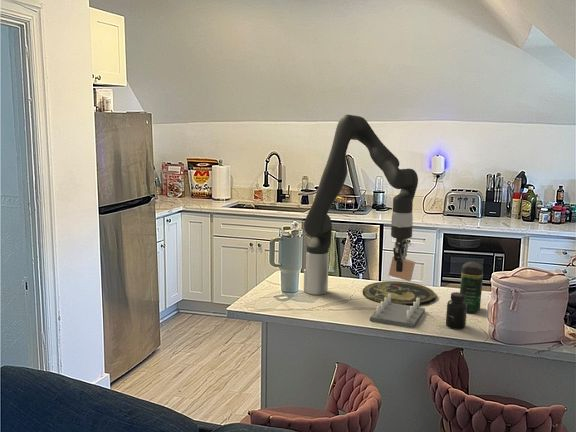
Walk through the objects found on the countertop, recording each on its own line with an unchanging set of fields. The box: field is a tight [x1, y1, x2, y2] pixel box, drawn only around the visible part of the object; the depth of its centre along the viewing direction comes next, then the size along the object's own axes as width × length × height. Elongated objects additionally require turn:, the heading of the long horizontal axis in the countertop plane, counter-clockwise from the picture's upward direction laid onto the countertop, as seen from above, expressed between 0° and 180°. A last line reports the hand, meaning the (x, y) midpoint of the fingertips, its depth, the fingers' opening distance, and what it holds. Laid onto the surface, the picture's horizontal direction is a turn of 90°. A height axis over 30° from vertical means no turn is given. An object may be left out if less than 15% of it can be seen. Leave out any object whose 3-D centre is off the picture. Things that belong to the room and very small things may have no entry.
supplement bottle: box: [445, 291, 467, 330], centre depth 212 cm, size 7×7×12 cm
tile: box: [388, 255, 416, 282], centre depth 219 cm, size 8×2×7 cm, turn 66°
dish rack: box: [369, 294, 426, 329], centre depth 222 cm, size 16×19×6 cm
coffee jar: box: [459, 261, 484, 314], centre depth 229 cm, size 10×8×19 cm
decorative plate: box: [362, 280, 437, 307], centre depth 248 cm, size 30×2×30 cm
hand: (400, 270), depth 219 cm, fingers closed on tile, 2 cm apart
